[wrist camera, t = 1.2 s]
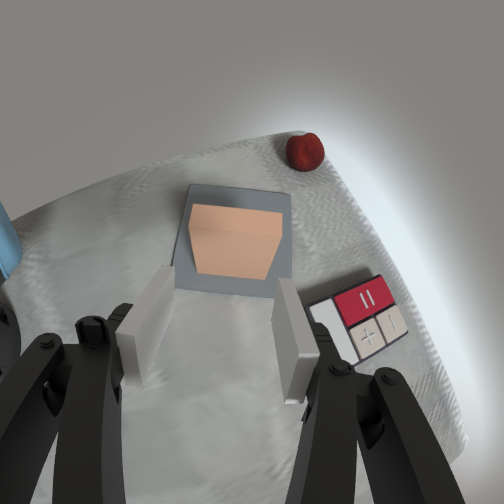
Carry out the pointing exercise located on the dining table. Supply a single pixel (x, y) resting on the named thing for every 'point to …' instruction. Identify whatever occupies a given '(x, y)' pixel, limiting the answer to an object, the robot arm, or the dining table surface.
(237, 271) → the block
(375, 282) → the calculator
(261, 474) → the dining table surface
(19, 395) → the robot arm
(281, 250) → the mat
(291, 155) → the apple
